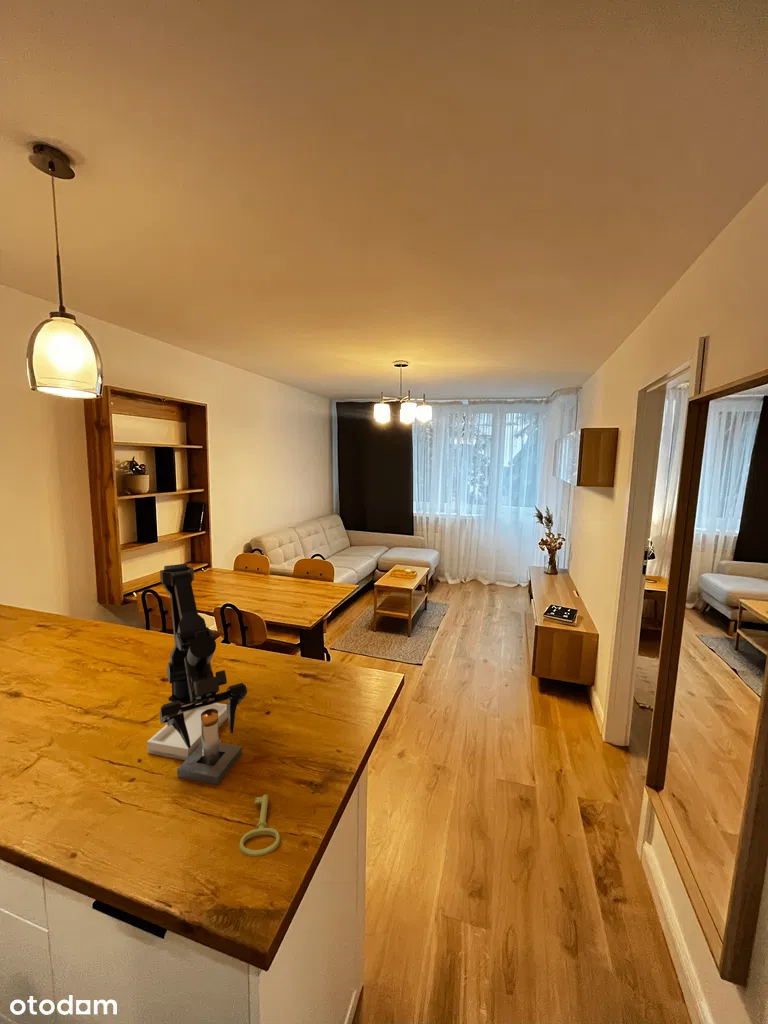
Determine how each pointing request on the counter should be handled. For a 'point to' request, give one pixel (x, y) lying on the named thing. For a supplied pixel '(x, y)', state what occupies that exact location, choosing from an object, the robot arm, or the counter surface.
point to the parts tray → (171, 740)
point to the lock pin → (210, 737)
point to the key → (260, 831)
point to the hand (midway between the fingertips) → (211, 740)
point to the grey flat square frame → (207, 773)
